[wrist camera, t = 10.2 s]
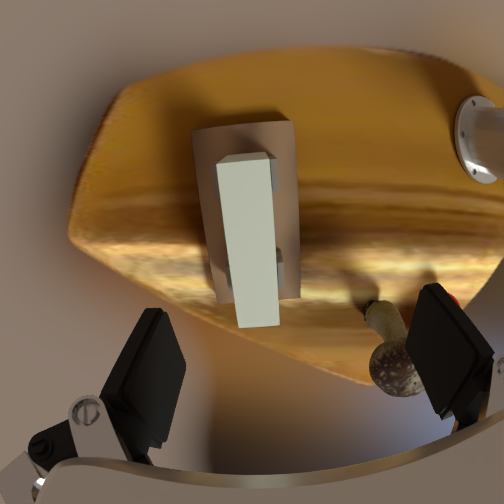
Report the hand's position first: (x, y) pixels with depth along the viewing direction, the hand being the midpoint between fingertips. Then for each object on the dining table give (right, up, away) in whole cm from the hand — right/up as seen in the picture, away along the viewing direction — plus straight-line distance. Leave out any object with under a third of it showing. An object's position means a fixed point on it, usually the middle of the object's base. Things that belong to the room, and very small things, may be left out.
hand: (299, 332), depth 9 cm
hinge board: (-2, +7, +21) cm, 22 cm away
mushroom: (+15, -5, +26) cm, 31 cm away
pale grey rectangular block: (-2, +6, +19) cm, 20 cm away
